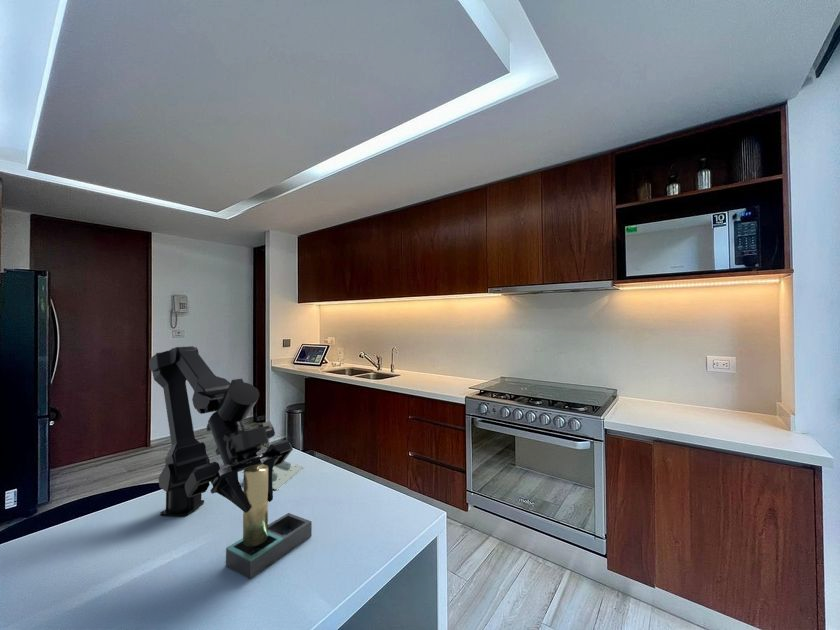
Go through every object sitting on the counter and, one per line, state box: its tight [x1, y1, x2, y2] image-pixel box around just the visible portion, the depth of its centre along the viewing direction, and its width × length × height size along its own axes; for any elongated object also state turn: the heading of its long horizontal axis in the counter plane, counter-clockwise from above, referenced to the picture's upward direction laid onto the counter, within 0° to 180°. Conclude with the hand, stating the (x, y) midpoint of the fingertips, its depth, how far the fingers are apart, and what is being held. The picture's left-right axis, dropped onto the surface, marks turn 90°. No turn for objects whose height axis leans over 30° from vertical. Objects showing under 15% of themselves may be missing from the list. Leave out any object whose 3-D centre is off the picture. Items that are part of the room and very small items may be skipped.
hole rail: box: [225, 512, 313, 580], centre depth 67 cm, size 14×7×3 cm, turn 151°
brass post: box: [242, 465, 269, 546], centre depth 64 cm, size 4×4×13 cm
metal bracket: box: [241, 460, 305, 491], centre depth 100 cm, size 14×6×15 cm
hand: (259, 505), depth 64 cm, fingers closed on brass post, 4 cm apart
